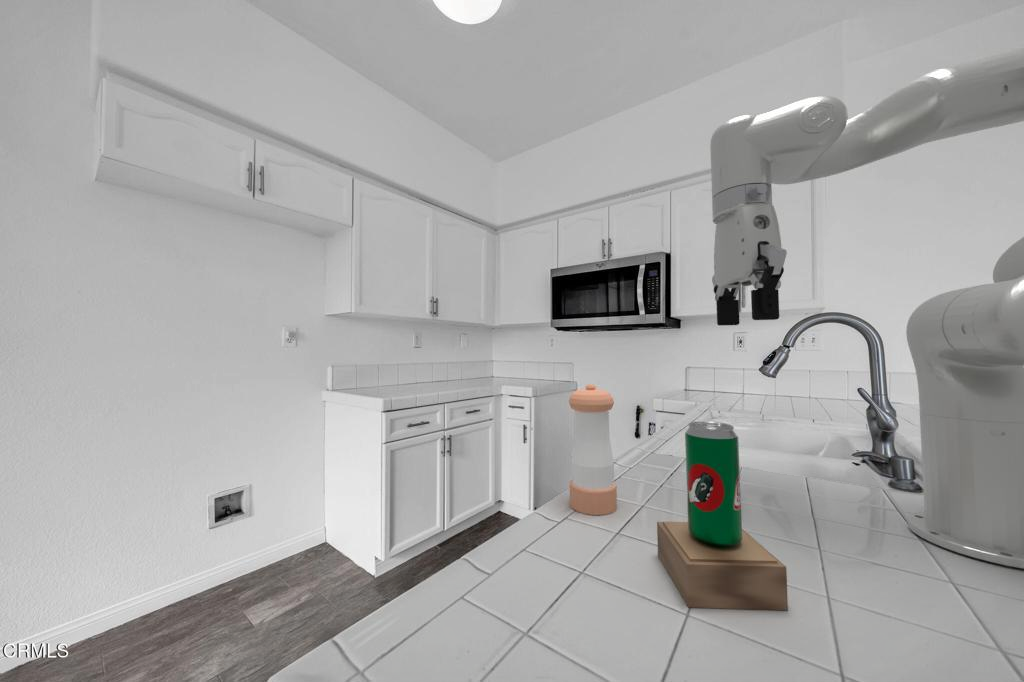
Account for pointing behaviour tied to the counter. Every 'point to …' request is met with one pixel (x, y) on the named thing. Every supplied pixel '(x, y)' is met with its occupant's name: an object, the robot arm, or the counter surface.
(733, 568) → the walnut base
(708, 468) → the soda can
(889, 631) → the counter surface
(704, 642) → the counter surface
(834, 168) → the robot arm
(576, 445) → the pepper shaker
